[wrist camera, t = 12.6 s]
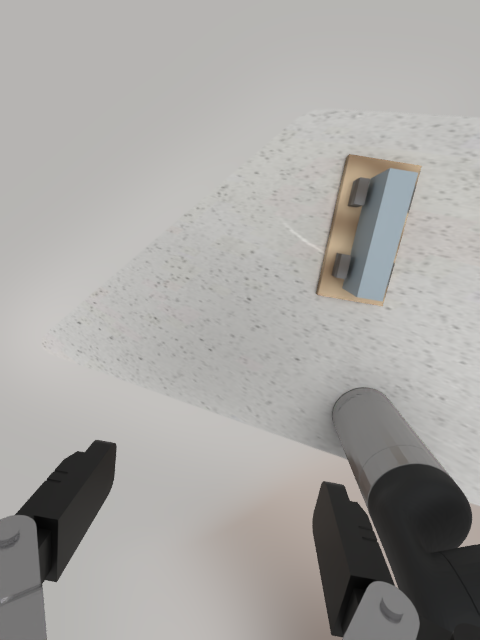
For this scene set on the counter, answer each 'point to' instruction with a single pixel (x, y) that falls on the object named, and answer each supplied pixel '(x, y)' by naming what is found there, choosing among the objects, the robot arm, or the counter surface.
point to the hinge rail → (352, 223)
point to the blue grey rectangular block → (379, 233)
